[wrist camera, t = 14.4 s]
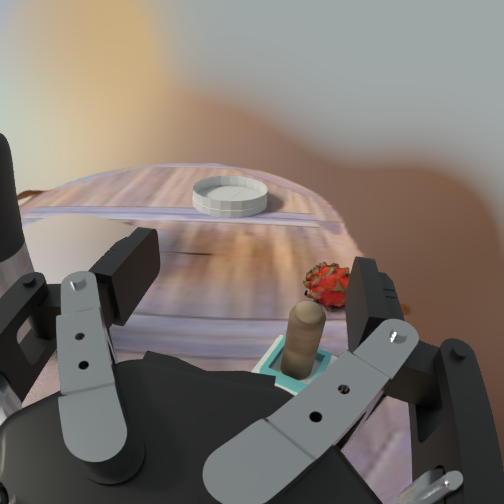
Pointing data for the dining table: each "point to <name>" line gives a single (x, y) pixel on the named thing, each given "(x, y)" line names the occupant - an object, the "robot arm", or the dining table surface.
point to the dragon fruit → (328, 284)
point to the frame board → (272, 367)
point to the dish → (230, 196)
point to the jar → (302, 339)
